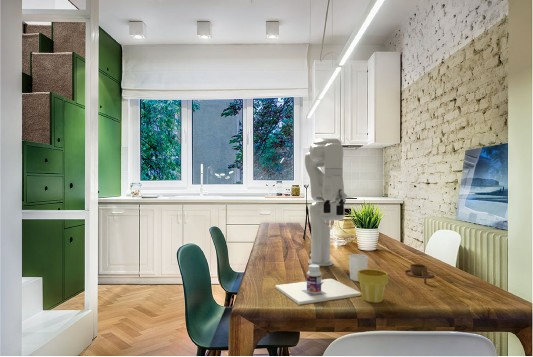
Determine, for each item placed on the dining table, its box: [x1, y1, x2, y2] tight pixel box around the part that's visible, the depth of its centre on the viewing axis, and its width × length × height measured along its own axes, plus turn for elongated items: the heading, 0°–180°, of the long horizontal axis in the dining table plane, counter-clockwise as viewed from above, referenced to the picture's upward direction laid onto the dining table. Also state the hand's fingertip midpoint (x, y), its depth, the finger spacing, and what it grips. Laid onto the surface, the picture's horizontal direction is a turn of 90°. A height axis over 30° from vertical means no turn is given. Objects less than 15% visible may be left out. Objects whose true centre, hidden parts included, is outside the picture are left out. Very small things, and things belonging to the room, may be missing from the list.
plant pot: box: [357, 268, 389, 303], centre depth 126 cm, size 10×10×10 cm
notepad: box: [274, 278, 362, 306], centre depth 135 cm, size 20×26×1 cm
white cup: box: [348, 253, 369, 282], centre depth 152 cm, size 8×8×10 cm
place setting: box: [404, 263, 434, 285], centre depth 156 cm, size 18×20×6 cm
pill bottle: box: [306, 264, 322, 294], centre depth 131 cm, size 5×5×10 cm
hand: (333, 214), depth 148 cm, fingers open, 9 cm apart
